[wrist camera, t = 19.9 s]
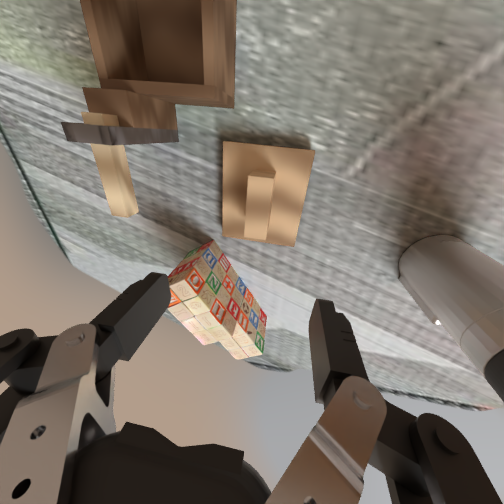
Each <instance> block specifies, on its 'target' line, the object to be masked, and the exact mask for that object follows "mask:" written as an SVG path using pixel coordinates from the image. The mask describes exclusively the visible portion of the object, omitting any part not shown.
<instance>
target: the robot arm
mask: <svg viewBox="0 0 504 504" xmlns="http://www.w3.org/2000/svg"><path fill="white" fill-rule="evenodd" d="M399 271H400V274H401V276H400V278H399V281H400V282H401V283H402V285H403V286H404V287H405V289H406V290H407V291H408V293H409V294H410V295H411V296H412V298H413V299H414V300H415V302H416V303H417V304H418V306H419V307H420V308H421V310H422V311H423V312H424V314H425V315H426V316H427V317H428V319H429V320H430V321H431V322H432V323H433V324H437V325H442V326H443V327H444V328H445V330H446V331H447V332H448V333H449V335H450V336H451V337H452V338H453V340H454V341H455V342H456V343H457V344H458V346H459V347H460V348H461V349H462V351H463V352H464V353H465V354H466V355H467V357H468V358H469V359H470V360H471V362H472V363H473V364H474V365H475V367H476V368H477V369H478V370H479V372H480V373H481V374H482V375H483V376H484V378H485V379H486V380H487V382H488V383H489V384H490V385H491V386H492V388H493V389H494V390H495V391H496V393H497V394H498V395H499V397H500V398H501V399H502V400H503V402H504V265H502V264H500V263H499V262H497V261H495V260H494V259H492V258H490V257H489V256H487V255H485V254H484V253H482V252H480V251H479V250H477V249H475V248H474V247H473V246H471V245H470V244H468V243H466V242H464V241H462V240H461V239H459V238H457V237H454V236H450V235H436V236H431V237H427V238H424V239H422V240H420V241H418V242H416V243H414V244H413V245H411V246H410V247H409V248H408V249H407V250H406V251H405V252H404V253H403V255H402V256H401V258H400V261H399ZM170 301H171V291H170V286H169V281H168V276H167V275H166V274H161V273H155V272H151V273H150V274H148V275H147V276H146V277H145V278H144V279H143V280H139V281H137V282H136V283H134V284H132V285H130V286H129V287H128V288H127V289H126V290H125V291H124V292H123V293H122V294H120V295H119V296H118V297H117V298H116V300H114V301H113V302H112V303H111V304H110V305H108V306H107V307H106V308H105V309H104V310H103V311H102V312H101V313H100V314H99V315H97V316H96V318H94V319H93V320H92V321H91V322H90V323H89V324H79V325H76V326H73V327H71V328H69V329H67V330H65V331H64V332H62V333H61V334H60V335H57V336H47V337H37V335H36V334H35V333H34V331H33V330H31V329H18V330H14V331H11V332H9V333H6V334H4V335H2V336H0V383H1V382H2V381H5V382H6V383H7V384H8V385H9V386H10V387H8V389H6V390H5V391H4V392H3V393H2V394H1V395H0V504H358V503H359V500H360V497H361V494H362V491H363V486H364V480H363V475H364V472H365V469H366V466H367V464H368V463H369V464H370V465H372V466H373V467H375V468H377V469H378V470H379V471H381V472H382V473H384V474H385V476H386V480H387V484H388V488H389V492H390V497H391V501H392V504H503V503H502V502H501V500H500V498H499V496H498V494H497V492H496V491H495V489H494V487H493V485H492V483H491V481H490V479H489V478H488V476H487V474H486V472H485V470H484V469H483V467H482V465H481V463H480V461H479V459H478V457H477V456H476V454H475V452H474V450H473V448H472V447H471V445H470V444H469V442H468V441H467V439H466V438H465V437H464V436H463V435H462V433H461V432H460V431H459V430H458V429H457V428H455V427H454V426H453V425H452V424H451V423H449V422H448V421H447V420H445V419H443V418H441V417H440V416H437V415H434V414H431V413H424V414H421V415H420V416H419V417H418V418H417V417H416V416H413V415H411V414H410V413H408V412H406V411H403V410H402V409H400V408H398V407H396V406H394V405H393V404H391V403H389V402H388V401H386V400H385V399H384V398H383V396H382V395H381V393H380V392H379V391H378V389H377V388H376V387H375V386H374V385H373V384H372V383H370V381H369V379H368V376H367V373H366V370H365V367H364V364H363V361H362V358H361V355H360V352H359V349H358V346H357V343H356V339H355V336H354V335H353V330H352V327H351V324H350V322H349V321H348V319H347V318H346V317H345V316H344V314H343V313H337V312H336V311H335V307H334V303H333V301H329V300H323V299H316V301H315V304H314V307H313V310H312V314H311V317H310V321H309V339H310V350H311V360H312V370H313V381H314V390H315V401H316V403H321V404H324V410H325V411H324V413H323V414H322V416H321V417H320V419H319V420H318V422H317V424H316V425H315V426H314V427H313V429H312V430H311V432H310V433H309V435H308V436H307V438H306V440H305V441H304V443H303V444H302V446H301V447H300V449H299V450H298V452H297V454H296V455H295V457H294V459H293V460H292V462H291V463H290V465H289V466H288V468H287V469H286V471H285V473H284V474H283V476H282V477H281V479H280V481H279V482H278V484H277V485H276V487H275V488H274V490H273V491H272V493H271V491H270V489H269V488H268V486H267V484H266V483H265V481H264V480H263V478H262V477H261V476H260V475H259V473H258V472H257V471H256V470H255V469H254V468H253V467H252V466H251V465H250V464H248V463H247V462H245V461H244V460H243V457H244V451H241V450H237V449H233V448H229V447H225V446H221V445H217V444H206V445H196V446H187V447H179V446H177V445H175V444H174V443H172V442H171V441H170V440H169V439H167V438H166V437H164V436H163V435H162V434H160V433H159V432H158V431H156V430H155V429H153V428H149V427H145V426H141V425H137V424H133V423H129V422H126V423H125V425H124V427H123V428H122V430H121V431H119V432H116V425H115V419H114V415H113V400H114V381H115V366H114V365H115V363H116V362H117V361H118V360H119V359H120V360H125V361H129V360H130V359H131V357H132V356H133V354H134V353H135V352H136V350H137V349H138V347H139V346H140V345H141V343H142V342H143V341H144V339H145V338H146V336H147V335H148V334H149V332H150V331H151V330H152V328H153V327H154V325H155V324H156V323H157V321H158V320H159V319H160V317H161V316H162V314H163V313H164V312H165V310H166V309H167V308H168V306H169V304H170Z"/></svg>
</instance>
